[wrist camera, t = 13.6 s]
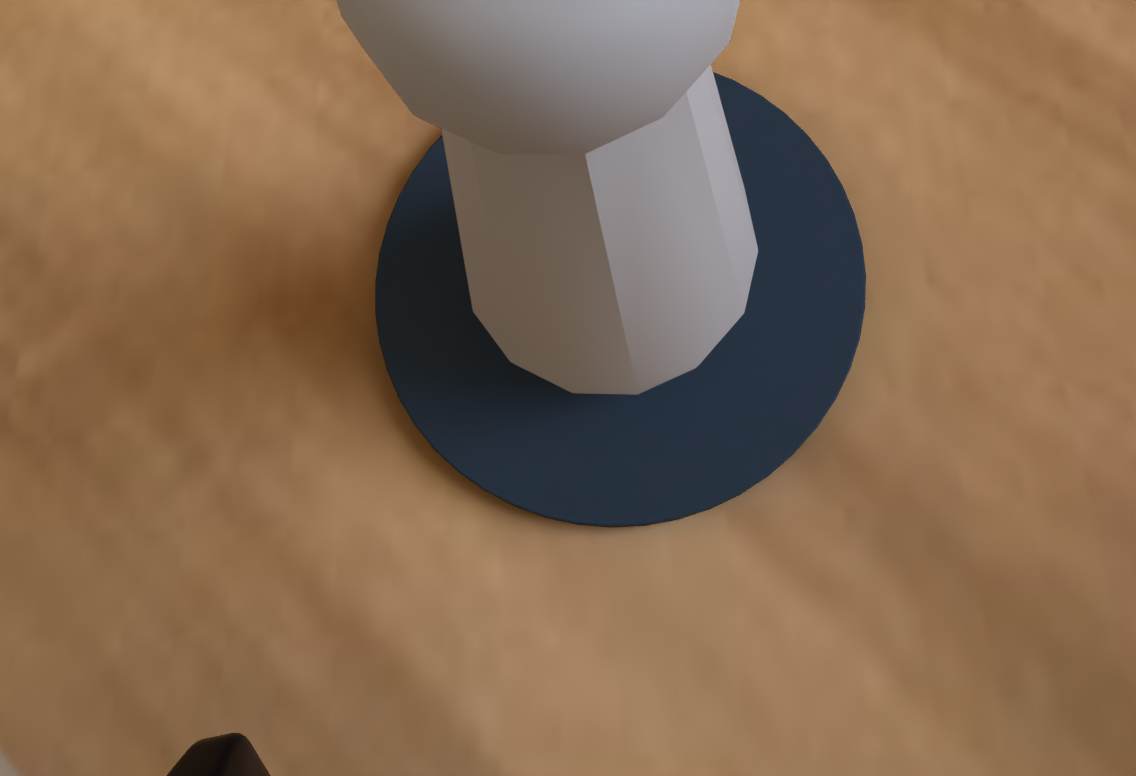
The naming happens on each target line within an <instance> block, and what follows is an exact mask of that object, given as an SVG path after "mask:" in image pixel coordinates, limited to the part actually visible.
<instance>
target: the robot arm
mask: <svg viewBox="0 0 1136 776" xmlns="http://www.w3.org/2000/svg"><path fill="white" fill-rule="evenodd" d="M167 776H270V774H269V773H268V771H267V769H266V768H265V766H264V764H263V763H262V761H261V759H260V758H259V756H258V754H257V753H256V751H255V749H254V748H253V746H252V744H251V743H250V741H249V740H248V739H247V737H245V736H244V735H242V734H240V733H230V734H225V735H220V736H215V737H210V738H205V739H202V740H199V741H197V742H196V743H195V744H193V745H192V746H191V747H190V748H189V749H188V750H187V751H186V753H185V754H184V755H183V756H182V757H181V759H180V760H179V761H178V762H177V764H176V765H175V766H174V767H173V768H172V770H171V771H170V772H169V773H168V775H167Z"/></svg>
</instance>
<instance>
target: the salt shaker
mask: <svg viewBox="0 0 1136 776" xmlns="http://www.w3.org/2000/svg"><path fill="white" fill-rule="evenodd" d="M337 2H338V6H339V9H340V13H341V16H342V18H343V19H344V21H345V22H346V24H347V25H348V27H349V28H350V30H351V31H352V33H353V34H354V35H355V37H356V38H357V40H358V41H359V43H360V44H361V46H362V47H363V49H364V50H365V52H366V53H367V54H368V56H369V57H370V58H371V60H372V61H373V62H374V64H375V65H376V66H377V68H378V69H379V70H380V71H381V73H382V74H383V75H384V77H385V78H386V79H387V81H388V82H389V83H390V85H391V86H392V87H393V89H394V90H395V91H396V93H397V94H398V95H399V97H400V98H401V99H402V101H403V102H404V103H405V105H406V106H407V107H408V109H409V110H410V111H411V112H412V114H413V115H415V116H417V117H418V118H420V119H422V120H424V121H426V122H428V123H430V124H432V125H434V126H437V127H439V128H441V130H442V136H443V141H444V147H445V153H446V159H447V165H448V170H449V176H450V182H451V188H452V194H453V199H454V205H455V211H456V217H457V222H458V228H459V234H460V240H461V246H462V251H463V257H464V263H465V269H466V274H467V280H468V286H469V292H470V297H471V303H472V309H473V312H474V313H475V315H476V316H477V318H478V319H479V320H480V322H481V323H482V324H483V326H484V327H485V328H486V330H487V331H488V332H489V334H490V335H491V336H492V338H493V339H494V340H495V342H496V343H497V345H498V346H499V347H500V349H501V350H502V351H503V353H504V354H505V355H506V357H507V358H508V359H509V361H510V362H511V363H513V364H515V365H517V366H519V367H521V368H523V369H525V370H527V371H529V372H531V373H533V374H535V375H537V376H539V377H541V378H543V379H545V380H547V381H549V382H551V383H553V384H555V385H557V386H559V387H561V388H563V389H565V390H567V391H569V392H571V393H577V394H628V395H638V394H640V393H642V392H645V391H647V390H649V389H651V388H653V387H656V386H658V385H660V384H662V383H664V382H667V381H669V380H671V379H673V378H675V377H677V376H680V375H682V374H684V373H686V372H688V371H691V370H693V369H695V368H696V367H697V366H698V365H699V364H700V363H701V362H702V361H703V360H704V359H705V358H706V356H707V355H708V354H709V353H710V352H711V351H712V350H713V348H714V347H715V346H716V345H717V344H718V343H719V341H720V340H721V339H722V338H723V337H724V336H725V335H726V333H727V332H728V331H729V330H730V329H731V328H732V327H733V325H734V324H735V323H736V322H737V321H738V320H739V319H740V317H741V316H742V315H743V314H744V312H745V308H746V303H747V299H748V294H749V290H750V285H751V281H752V276H753V272H754V267H755V263H756V258H757V254H758V247H757V242H756V238H755V233H754V229H753V224H752V220H751V215H750V211H749V206H748V202H747V197H746V193H745V188H744V185H743V181H742V177H741V174H740V170H739V166H738V163H737V159H736V155H735V152H734V148H733V144H732V141H731V137H730V133H729V130H728V126H727V122H726V119H725V115H724V111H723V108H722V104H721V100H720V97H719V93H718V89H717V86H716V82H715V78H714V75H713V71H712V67H711V63H712V62H713V61H714V60H715V59H716V58H717V57H718V56H719V54H720V53H721V52H722V51H723V50H724V48H725V47H726V46H727V45H728V43H729V42H730V39H731V35H732V31H733V27H734V23H735V19H736V15H737V11H738V7H739V3H740V0H337Z"/></svg>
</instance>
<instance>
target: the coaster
mask: <svg viewBox="0 0 1136 776" xmlns="http://www.w3.org/2000/svg"><path fill="white" fill-rule="evenodd" d="M713 75H714V78H715V82H716V86H717V89H718V93H719V97H720V100H721V104H722V108H723V111H724V115H725V119H726V122H727V126H728V130H729V133H730V137H731V141H732V144H733V148H734V152H735V155H736V159H737V163H738V166H739V170H740V174H741V177H742V181H743V185H744V188H745V193H746V197H747V202H748V206H749V211H750V215H751V220H752V224H753V229H754V233H755V238H756V242H757V247H758V254H757V258H756V263H755V267H754V272H753V276H752V281H751V285H750V290H749V294H748V299H747V303H746V308H745V312H744V314H743V315H742V316H741V317H740V319H739V320H738V321H737V322H736V323H735V324H734V325H733V327H732V328H731V329H730V330H729V331H728V332H727V333H726V335H725V336H724V337H723V338H722V339H721V340H720V341H719V343H718V344H717V345H716V346H715V347H714V348H713V350H712V351H711V352H710V353H709V354H708V355H707V356H706V358H705V359H704V360H703V361H702V362H701V363H700V364H699V365H698V366H697V367H696V368H695V369H693V370H691V371H688V372H686V373H684V374H682V375H680V376H677V377H675V378H673V379H671V380H669V381H667V382H664V383H662V384H660V385H658V386H656V387H653V388H651V389H649V390H647V391H645V392H642V393H640V394H638V395H628V394H577V393H571V392H569V391H567V390H565V389H563V388H561V387H559V386H557V385H555V384H553V383H551V382H549V381H547V380H545V379H543V378H541V377H539V376H537V375H535V374H533V373H531V372H529V371H527V370H525V369H523V368H521V367H519V366H517V365H515V364H513V363H511V362H510V361H509V359H508V358H507V357H506V355H505V354H504V353H503V351H502V350H501V349H500V347H499V346H498V345H497V343H496V342H495V340H494V339H493V338H492V336H491V335H490V334H489V332H488V331H487V330H486V328H485V327H484V326H483V324H482V323H481V322H480V320H479V319H478V318H477V316H476V315H475V313H474V312H473V309H472V303H471V297H470V292H469V286H468V280H467V274H466V269H465V263H464V257H463V251H462V246H461V240H460V234H459V228H458V222H457V217H456V211H455V205H454V199H453V194H452V188H451V182H450V176H449V170H448V165H447V159H446V153H445V147H444V141H443V136H441V137H440V138H439V139H438V140H437V141H436V142H435V143H434V144H433V145H432V146H431V148H430V149H429V150H428V152H427V153H426V154H425V156H424V157H423V158H422V160H421V161H420V162H419V164H418V165H417V166H416V168H415V169H414V170H413V172H412V174H411V176H410V177H409V179H408V181H407V183H406V184H405V186H404V188H403V190H402V192H401V193H400V195H399V197H398V199H397V202H396V204H395V207H394V209H393V211H392V214H391V216H390V219H389V221H388V224H387V227H386V231H385V235H384V238H383V242H382V246H381V249H380V253H379V261H378V268H377V275H376V320H377V327H378V335H379V342H380V346H381V349H382V353H383V357H384V360H385V364H386V368H387V371H388V374H389V376H390V378H391V381H392V383H393V385H394V388H395V390H396V392H397V395H398V397H399V399H400V401H401V403H402V404H403V406H404V408H405V409H406V411H407V413H408V414H409V416H410V418H411V419H412V421H413V422H414V424H415V426H416V427H417V428H418V429H419V431H420V432H421V433H422V434H423V436H424V437H425V438H426V439H427V441H428V442H429V443H430V444H431V446H432V447H433V448H434V449H435V450H436V451H437V452H438V453H439V454H440V455H441V456H442V457H443V458H444V459H445V460H446V461H447V462H448V463H449V464H451V465H452V466H453V467H454V468H455V469H456V470H457V471H458V472H459V473H461V474H462V475H464V476H465V477H466V478H468V479H469V480H471V481H472V482H473V483H475V484H476V485H478V486H479V487H481V488H482V489H483V490H485V491H487V492H489V493H491V494H493V495H495V496H496V497H498V498H500V499H502V500H504V501H506V502H508V503H510V504H512V505H514V506H516V507H518V508H521V509H524V510H527V511H529V512H532V513H535V514H538V515H540V516H543V517H546V518H550V519H555V520H559V521H564V522H568V523H573V524H578V525H589V526H601V527H628V526H645V525H651V524H656V523H662V522H667V521H673V520H678V519H681V518H684V517H687V516H690V515H693V514H696V513H699V512H702V511H705V510H709V509H711V508H713V507H715V506H717V505H719V504H721V503H723V502H726V501H728V500H730V499H732V498H734V497H736V496H738V495H740V494H742V493H743V492H745V491H746V490H748V489H749V488H751V487H752V486H754V485H755V484H757V483H758V482H760V481H761V480H763V479H764V478H766V477H768V476H769V475H770V474H771V473H772V472H773V471H774V470H776V469H777V468H778V467H779V466H780V465H781V464H783V463H784V462H785V461H786V460H787V459H788V458H789V457H791V456H792V455H793V454H794V453H795V452H796V450H797V449H798V448H799V447H800V446H801V445H802V444H803V442H804V441H805V440H806V439H807V438H808V437H809V436H810V435H811V433H812V432H813V431H814V430H815V429H816V428H817V426H818V425H819V423H820V422H821V420H822V419H823V417H824V416H825V414H826V413H827V411H828V410H829V408H830V407H831V405H832V404H833V402H834V401H835V399H836V397H837V395H838V393H839V391H840V389H841V387H842V385H843V383H844V381H845V378H846V376H847V374H848V372H849V370H850V367H851V364H852V361H853V358H854V355H855V352H856V348H857V345H858V342H859V339H860V333H861V327H862V321H863V315H864V309H865V285H866V273H865V265H864V256H863V247H862V242H861V238H860V234H859V230H858V226H857V223H856V219H855V215H854V212H853V210H852V207H851V205H850V203H849V200H848V198H847V195H846V193H845V191H844V188H843V186H842V184H841V182H840V181H839V179H838V177H837V176H836V174H835V172H834V171H833V169H832V167H831V166H830V164H829V162H828V160H827V159H826V158H825V156H824V155H823V154H822V152H821V151H820V150H819V149H818V147H817V146H816V145H815V144H814V142H813V141H812V140H811V139H810V137H809V136H808V135H807V134H806V133H805V132H804V131H803V130H802V129H801V128H800V127H799V126H798V125H797V124H796V123H795V122H794V121H793V120H792V119H791V118H790V117H788V116H787V115H786V114H785V113H784V112H783V111H781V110H780V109H779V108H777V107H776V106H775V105H773V104H772V103H770V102H769V101H768V100H766V99H765V98H764V97H762V96H761V95H759V94H757V93H756V92H754V91H752V90H750V89H748V88H747V87H745V86H743V85H741V84H739V83H738V82H736V81H734V80H732V79H729V78H727V77H724V76H722V75H719V74H717V73H714V72H713Z"/></svg>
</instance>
